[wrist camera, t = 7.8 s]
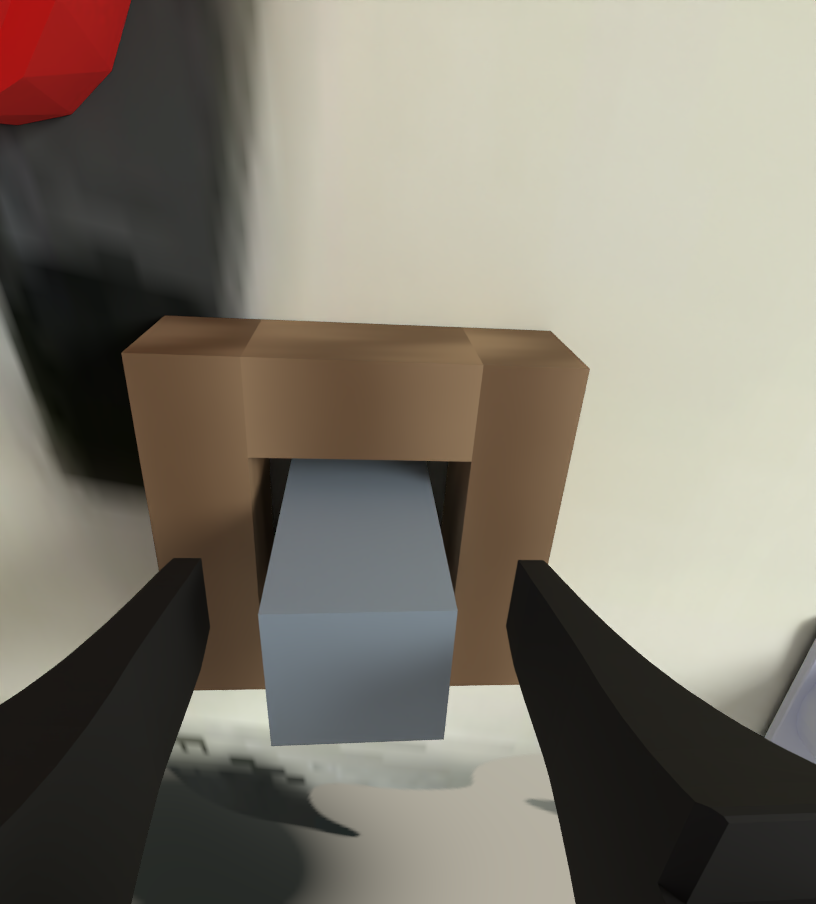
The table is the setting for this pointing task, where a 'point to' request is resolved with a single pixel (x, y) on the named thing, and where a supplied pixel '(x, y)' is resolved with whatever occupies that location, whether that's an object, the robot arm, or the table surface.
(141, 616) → the robot arm
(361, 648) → the peg
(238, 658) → the socket block
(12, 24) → the toy
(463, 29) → the table surface
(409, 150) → the table surface
